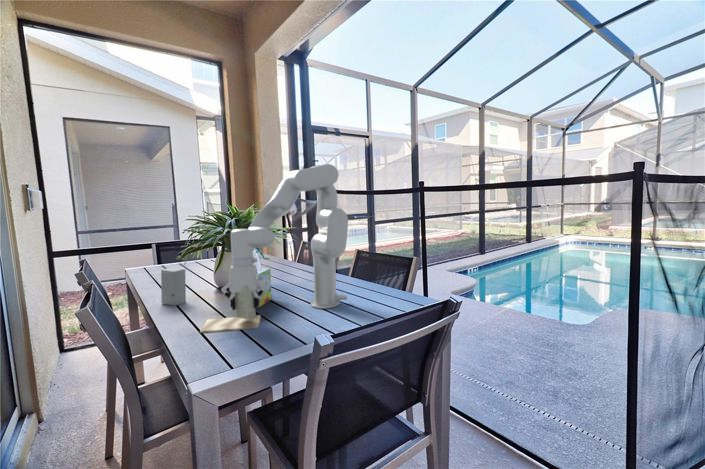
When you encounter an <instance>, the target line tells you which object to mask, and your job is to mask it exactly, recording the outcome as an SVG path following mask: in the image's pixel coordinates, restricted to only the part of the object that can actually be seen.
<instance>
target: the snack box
mask: <svg viewBox="0 0 705 469" xmlns="http://www.w3.org/2000/svg"><path fill="white" fill-rule="evenodd" d="M256 269H257V275H258V281H260V282H261V283H263V284H264V285H266V289H265V290H264V291H263V293H262V294H261V295H260V296H259V306H257V309H255V311H256V310H258V309H259V308H261V307H262V306H264V305H265V304H266V303H268V302H270V301H271V300H272V287H271V286H272V285H271V284H272V281H271V277H272V276H271V275H272V274H271V268H266V267H260V268H256ZM261 288H262V287H260V286H259V285H258V288H257V291H258V292H259V291H260V290H261ZM254 298H255V296H254Z"/></svg>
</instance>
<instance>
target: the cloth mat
mask: <svg viewBox="0 0 705 469" xmlns="http://www.w3.org/2000/svg"><path fill="white" fill-rule="evenodd" d="M261 317H262V315H260V314H258V315H256V316H254V317H252V318H250V319H244V318H237V317H236V316H234V317H222V318H212V319H210V318H207V320H206V322H205V323H204V324H203V326H202V328H200V330H199V333H200V334H205V333H216V332H226V331H227V332H228V331H238V330H249V329H259V328H260V322H261Z"/></svg>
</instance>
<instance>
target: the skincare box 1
mask: <svg viewBox="0 0 705 469" xmlns="http://www.w3.org/2000/svg"><path fill="white" fill-rule="evenodd" d="M160 273H161V274H160V275H161V278H160V279H161V282H160V283H161V288H160V290H161V304H162V305H166V306H178V305H181V304H185V303H186V302H187V300H186V299H187V298H186V297H187V296H186V294H187V293H186V289H187V288H186V269H184V268H180V267H179V268H178V267H170V268H163V269H161V270H160Z"/></svg>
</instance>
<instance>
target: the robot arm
mask: <svg viewBox="0 0 705 469" xmlns="http://www.w3.org/2000/svg"><path fill="white" fill-rule="evenodd" d="M339 175H340V174H339V170H338V168H337V167H336V166H335V165H333V164H330V163H325V164H317V165H313V166H311V167H307V168H303V169H293V170H291V171H288V172H287V173H286V174H285V175H284V178H283V179H282V181H281V182H280V184H279V185H278V187H277V188H276V190H275V192H274V194H273V196H272V197H271V199H269V201H267V203H266V204H265V205H264V206H263V207H262V209H260V210H259V211H258V213H257V214H256V215H255V216H254V218H253V220H252V221H251V223H250V225H249V226H248V228H234V229H233V230H231V231H230V250H231V265H230V268H229V274H228V275H229V276H228V277H229V280H228V283H226V285H224V286H223V287H221V290H220V291H221V293H223V294H224V296H225V297H226V298H228V299H229V300H230V301H229V302H230V308H232V311H235V298H234V295H235V293H241V289H242V287H249V290H250V292H252V293H253V294H254V296H255V298H254V305H255V309H256V310H258V309H257V306H259V296H260V295H261V294H262V293H263V291H264V290H265V289H266V285H264V284H263V283H261V282H260V281H258V275H257V269H258V268H257V265H256V264H255V263H258V258H257V257H256V258H255V257H254V253H253V252H254V250H253V249H254V248H260V249H262V248H268V247H270V246H272V245H273V243H275V239H276V238H275V237H276V236H275V233H274V231H272V230H271V229H270V228H271V226H272V225H273V224H274V223H275V222H276V221H278V219H280V218H282V217H283V216H286V215H287V214H288V213H289V212H290V211H291V210H292V209H293V206H294V204H295V203H296V201H297V199H298V198H299V196H300V194H301V193H302V192H309V191H314V190H315V192H316V196H317V202H316V214H315V223H316V226H317V227H318V228H320V229H322V230H326V232H319V233H316V234H314V236H313V237H312V238H311V241H310V250H311V255H312V262H313V263H312V264H313V265H312V266H313V267H312V268H313V294H314V298H313V299H312V300H311V302H310V305H311V307H313V308H316V309H322V310H324V309H333V308H337V307H338V306H339V305H341V303H340V302H341V300H344V301H346V300H347V299H348V296H347V294H345V295H344V294H342V293H341V294H338V292H337V286H336V285H337V283H336V281H337V280H336V278H337V277H336V274H337V273H336V260H335V258H340V257H341V256H342V255H344V253H345V251H346V248H347V242H348V241H347V240H348V231H349V229H348V228H349V218H348V215H347V213H346V211H344V210H343V209H341V208H339V207H338V193H337V189H336V187H335V185H334V184H336V183H337V181H338V179H339ZM258 285H259V286H260V287H262V288H261V290H260V291H259V292H258V291H257V288H258ZM228 288H229V290H227V289H228Z"/></svg>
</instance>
